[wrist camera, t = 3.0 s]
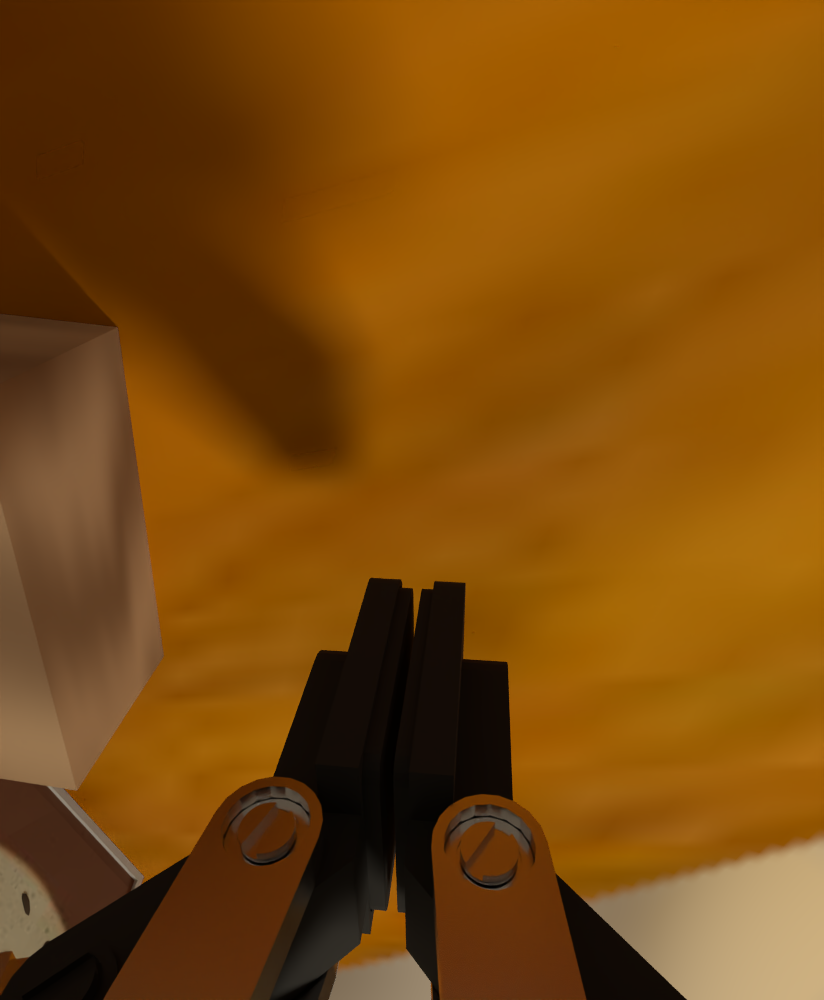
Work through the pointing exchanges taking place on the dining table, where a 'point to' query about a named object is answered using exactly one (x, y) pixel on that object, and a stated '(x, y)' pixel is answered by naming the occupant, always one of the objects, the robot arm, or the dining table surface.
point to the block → (68, 551)
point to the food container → (52, 866)
